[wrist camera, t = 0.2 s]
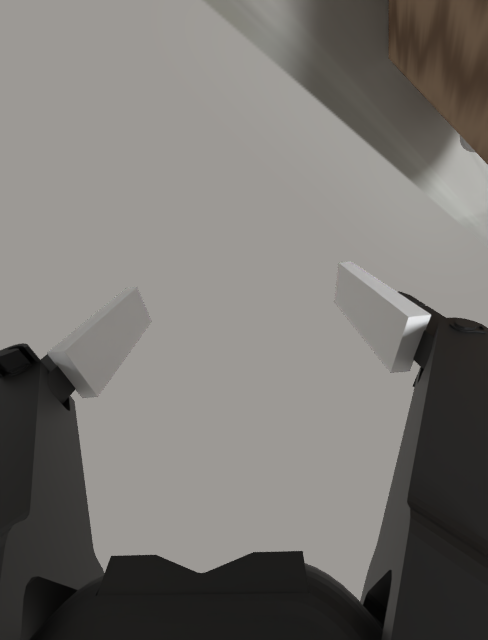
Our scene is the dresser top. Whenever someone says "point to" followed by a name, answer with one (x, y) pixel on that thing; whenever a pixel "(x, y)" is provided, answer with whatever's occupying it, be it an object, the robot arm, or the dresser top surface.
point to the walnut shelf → (446, 60)
